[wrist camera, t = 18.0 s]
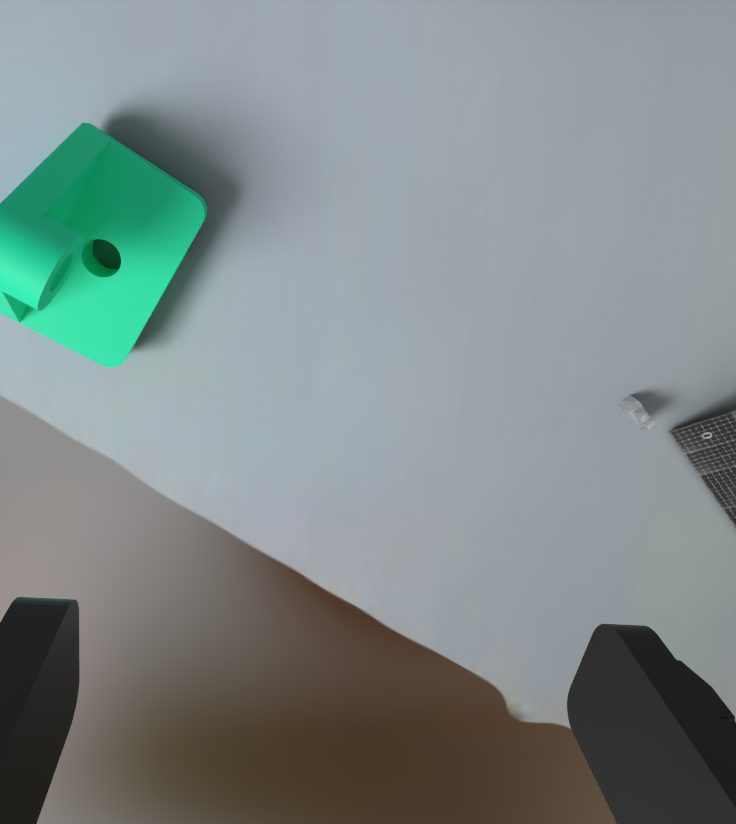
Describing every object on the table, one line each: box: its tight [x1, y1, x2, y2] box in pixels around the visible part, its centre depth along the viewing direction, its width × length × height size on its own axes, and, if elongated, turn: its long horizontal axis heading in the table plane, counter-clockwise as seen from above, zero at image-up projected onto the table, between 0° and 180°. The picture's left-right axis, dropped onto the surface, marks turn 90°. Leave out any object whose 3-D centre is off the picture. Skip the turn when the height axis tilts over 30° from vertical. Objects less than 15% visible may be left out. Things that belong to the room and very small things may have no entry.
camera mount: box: [0, 123, 208, 367], centre depth 33 cm, size 12×8×10 cm, turn 145°
